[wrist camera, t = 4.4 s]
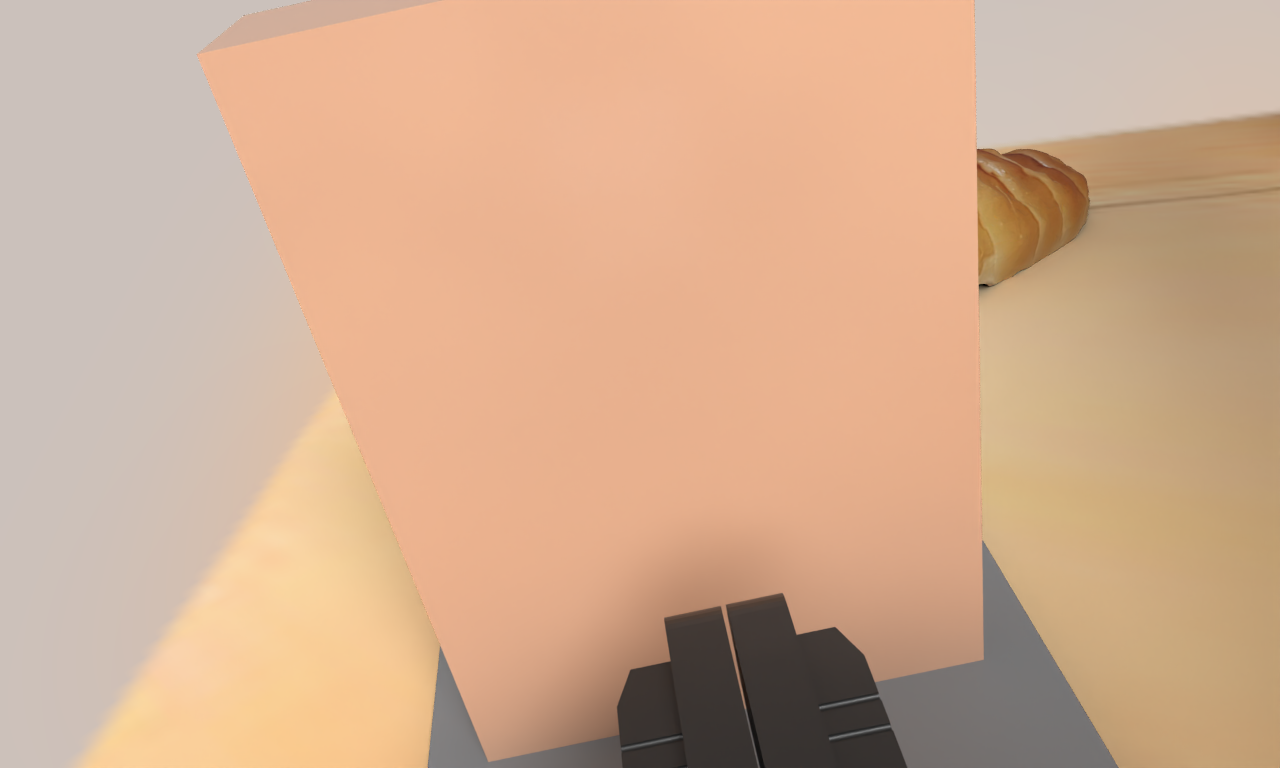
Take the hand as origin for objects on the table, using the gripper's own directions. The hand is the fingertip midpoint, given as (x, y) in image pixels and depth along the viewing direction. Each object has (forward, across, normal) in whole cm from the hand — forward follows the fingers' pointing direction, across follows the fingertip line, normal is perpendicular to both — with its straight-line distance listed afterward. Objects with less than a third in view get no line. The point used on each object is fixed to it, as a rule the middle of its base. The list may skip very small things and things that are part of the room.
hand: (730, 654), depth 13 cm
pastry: (+23, -11, +8) cm, 26 cm away
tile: (+6, 0, +7) cm, 9 cm away
